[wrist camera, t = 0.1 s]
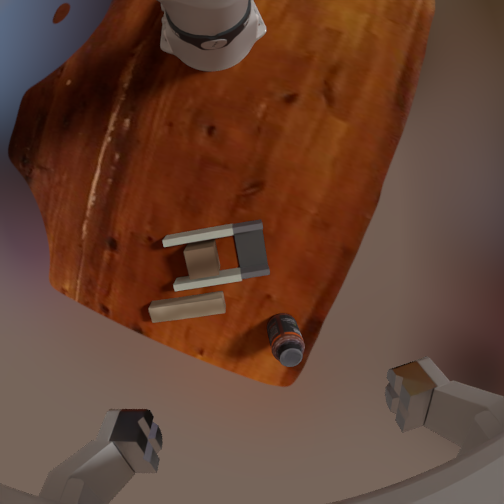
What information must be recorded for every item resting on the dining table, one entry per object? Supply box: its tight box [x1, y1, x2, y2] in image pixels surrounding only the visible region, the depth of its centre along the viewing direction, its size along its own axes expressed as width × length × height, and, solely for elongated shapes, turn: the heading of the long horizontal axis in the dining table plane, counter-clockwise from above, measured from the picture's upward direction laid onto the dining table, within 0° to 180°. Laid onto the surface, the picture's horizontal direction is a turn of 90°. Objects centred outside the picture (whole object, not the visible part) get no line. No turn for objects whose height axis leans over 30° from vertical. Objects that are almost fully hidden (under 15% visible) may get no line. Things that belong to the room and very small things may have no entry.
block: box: [184, 239, 220, 280], centre depth 55 cm, size 5×5×5 cm
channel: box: [162, 220, 270, 291], centre depth 55 cm, size 9×17×4 cm, turn 99°
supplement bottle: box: [267, 313, 305, 367], centre depth 57 cm, size 6×6×11 cm
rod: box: [148, 291, 226, 323], centre depth 58 cm, size 3×14×4 cm, turn 99°
